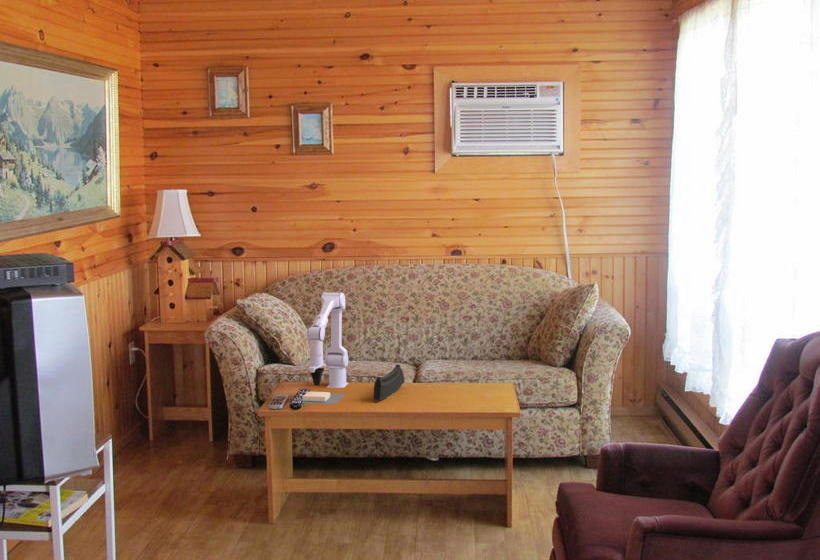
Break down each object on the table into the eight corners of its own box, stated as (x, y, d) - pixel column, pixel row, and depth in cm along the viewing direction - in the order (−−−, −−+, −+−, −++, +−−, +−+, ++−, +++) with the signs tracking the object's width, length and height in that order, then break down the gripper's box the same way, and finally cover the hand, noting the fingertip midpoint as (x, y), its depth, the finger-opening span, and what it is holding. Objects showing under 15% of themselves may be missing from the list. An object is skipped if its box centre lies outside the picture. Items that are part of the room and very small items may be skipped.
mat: (302, 393, 410) (302, 392, 409) (345, 394, 406) (345, 394, 406) (289, 403, 392) (289, 402, 392) (334, 405, 388) (334, 404, 388)
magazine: (377, 383, 388) (400, 350, 413) (370, 383, 389) (394, 350, 414) (382, 418, 394) (405, 383, 420) (375, 418, 395) (398, 383, 421)
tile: (308, 391, 401) (302, 396, 393) (330, 392, 399) (325, 396, 391) (308, 396, 401) (302, 401, 394) (330, 397, 400) (325, 402, 392)
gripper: (320, 358, 388) (321, 389, 389) (329, 351, 402) (330, 381, 403) (304, 357, 389) (305, 388, 391) (314, 350, 403) (315, 381, 405)
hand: (317, 385), depth 397 cm, fingers closed
